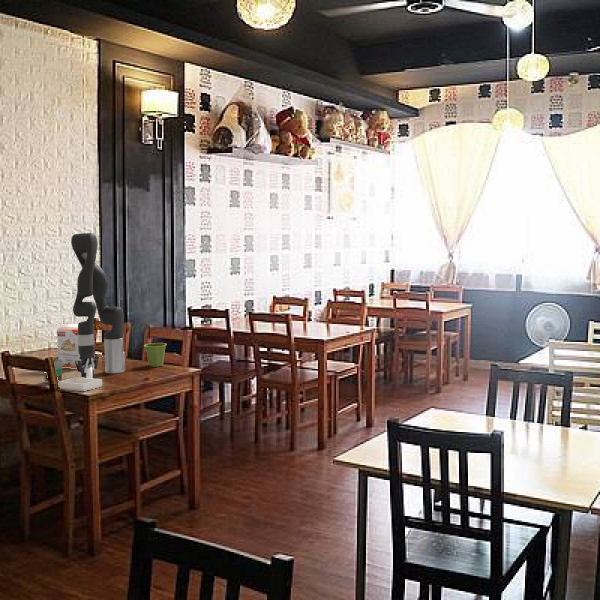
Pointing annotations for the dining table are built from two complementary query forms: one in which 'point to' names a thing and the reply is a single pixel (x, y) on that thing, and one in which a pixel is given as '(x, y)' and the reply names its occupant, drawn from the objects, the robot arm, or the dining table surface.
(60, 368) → the food container
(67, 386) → the tray
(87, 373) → the shaker
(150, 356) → the plant pot
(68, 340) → the cracker box
